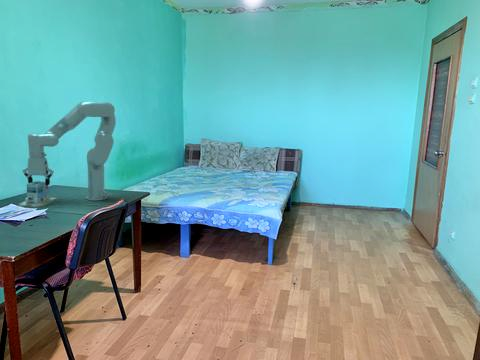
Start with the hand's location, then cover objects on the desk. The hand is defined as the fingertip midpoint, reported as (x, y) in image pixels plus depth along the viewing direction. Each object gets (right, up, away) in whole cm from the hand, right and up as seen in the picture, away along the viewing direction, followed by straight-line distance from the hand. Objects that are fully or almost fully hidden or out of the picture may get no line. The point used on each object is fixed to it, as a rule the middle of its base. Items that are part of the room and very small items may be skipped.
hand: (39, 184), depth 212 cm
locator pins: (-1, -10, +2) cm, 11 cm away
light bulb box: (-1, -9, +2) cm, 10 cm away
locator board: (-1, -10, +2) cm, 11 cm away
